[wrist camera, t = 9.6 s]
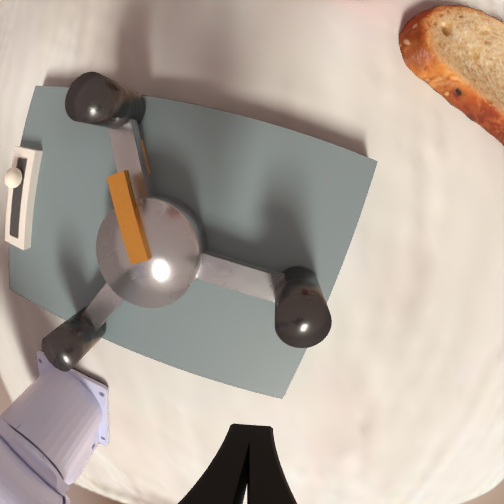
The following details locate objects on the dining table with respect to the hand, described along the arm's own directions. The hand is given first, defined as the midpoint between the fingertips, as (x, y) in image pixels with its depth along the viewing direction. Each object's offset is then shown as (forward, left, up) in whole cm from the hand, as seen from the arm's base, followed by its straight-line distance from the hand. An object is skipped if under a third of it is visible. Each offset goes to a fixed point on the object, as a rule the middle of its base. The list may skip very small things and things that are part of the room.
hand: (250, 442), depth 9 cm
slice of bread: (+21, -14, -11) cm, 28 cm away
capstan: (+5, +8, -9) cm, 13 cm away
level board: (+3, +9, -10) cm, 14 cm away
